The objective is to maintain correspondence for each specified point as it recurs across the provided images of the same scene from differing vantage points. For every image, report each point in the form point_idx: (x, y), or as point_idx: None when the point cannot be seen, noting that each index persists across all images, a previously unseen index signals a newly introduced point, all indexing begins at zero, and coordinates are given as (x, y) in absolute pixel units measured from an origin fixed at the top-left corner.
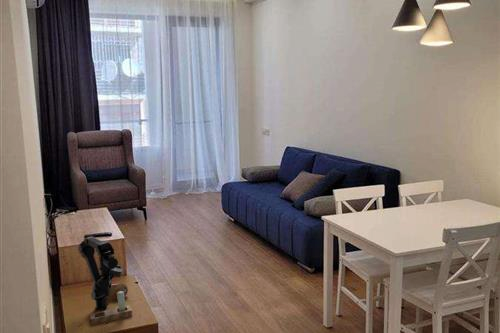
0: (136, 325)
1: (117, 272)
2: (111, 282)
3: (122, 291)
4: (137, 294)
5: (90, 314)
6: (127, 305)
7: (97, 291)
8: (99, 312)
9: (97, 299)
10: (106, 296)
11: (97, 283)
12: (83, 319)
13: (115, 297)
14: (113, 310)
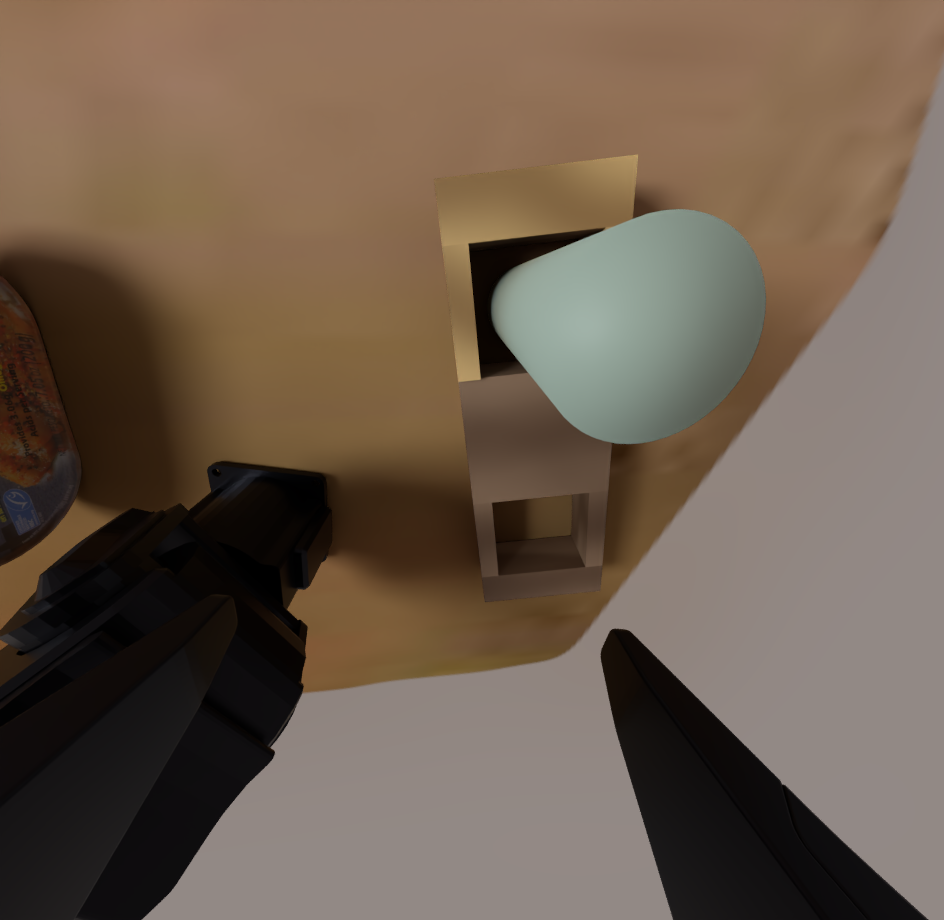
0: (898, 127)
1: None
2: (33, 732)
3: (604, 265)
4: None
5: (501, 599)
6: (440, 226)
7: (276, 725)
8: (492, 540)
9: (282, 606)
10: (50, 491)
11: (107, 902)
12: (467, 607)
13: (43, 395)
14: (507, 416)
